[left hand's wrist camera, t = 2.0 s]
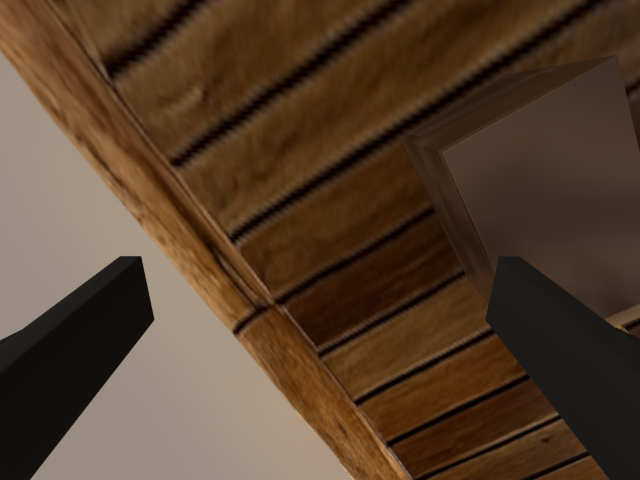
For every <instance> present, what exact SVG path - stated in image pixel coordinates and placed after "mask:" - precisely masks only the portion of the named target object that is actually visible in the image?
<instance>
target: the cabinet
mask: <svg viewBox="0 0 640 480" xmlns="http://www.w3.org/2000/svg"><path fill="white" fill-rule="evenodd" d="M400 140H401V142H402V144H403V146H404V148H405V150H406V152H407V154H408V156H409V158H410V160H411V163H412V165H413V167H414V169H415V171H416V173H417V175H418V177H419V179H420V181H421V183H422V185H423V187H424V190H425V192H426V194H427V196H428V198H429V200H430V202H431V204H432V206H433V208H434V210H435V212H436V214H437V217H438V219H439V221H440V223H441V225H442V227H443V229H444V231H445V233H446V235H447V237H448V239H449V241H450V244H451V246H452V248H453V250H454V252H455V254H456V256H457V258H458V260H459V262H460V264H461V266H462V268H463V270H464V273H465V275H466V277H467V279H468V280H469V281H470V282H471V283H472V284H473V286H474V287H475V288H476V289H477V290H478V291H479V292H480V294H481V295H482V296H483V297H484V298H485V299H486V300H487V302H488V303H489V301H490V296H491V292H492V287H493V282H494V277H495V272H496V268H497V263H498V258H499V256H520V257H521V258H523V259H524V260H525V261H527V262H528V263H529V264H531V265H532V266H533V267H535V268H536V269H537V270H539V271H540V272H541V273H543V274H544V275H546V276H547V277H548V278H550V279H551V280H552V281H554V282H555V283H556V284H558V285H559V286H560V287H562V288H563V289H564V290H566V291H567V292H568V293H570V294H571V295H572V296H574V297H575V298H576V299H578V300H579V301H580V302H582V303H583V304H584V305H586V306H587V307H588V308H590V309H591V310H592V311H594V312H595V313H596V314H598V315H599V316H600V317H602V318H603V319H605V318H607V317H609V316H612V315H614V314H616V313H619V312H621V311H623V310H626V309H628V308H630V307H633V306H635V305H637V304H640V150H639V146H638V142H637V138H636V133H635V129H634V125H633V121H632V117H631V112H630V108H629V104H628V100H627V96H626V92H625V87H624V83H623V79H622V75H621V71H620V66H619V62H618V58H617V55H614V56H608V57H603V58H598V59H592V60H587V61H581V62H575V63H570V64H564V65H559V66H553V67H548V68H542V69H536V70H531V71H525V72H520V73H514V74H508V75H505V76H504V77H502V78H500V79H499V80H497V81H495V82H493V83H492V84H490V85H488V86H487V87H485V88H483V89H481V90H480V91H478V92H476V93H475V94H473V95H471V96H469V97H468V98H466V99H464V100H463V101H461V102H459V103H457V104H456V105H454V106H452V107H451V108H449V109H447V110H445V111H444V112H442V113H440V114H439V115H437V116H435V117H433V118H432V119H430V120H428V121H427V122H425V123H423V124H421V125H420V126H418V127H416V128H415V129H413V130H411V131H409V132H408V133H406V134H404V135H403V136H401V137H400Z"/></svg>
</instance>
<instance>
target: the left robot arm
mask: <svg viewBox="0 0 640 480" xmlns="http://www.w3.org/2000/svg"><path fill="white" fill-rule="evenodd" d="M153 321H154V315H153V311H152V306H151V301H150V296H149V292H148V287H147V282H146V278H145V272H144V268H143V263H142V258H141V256H120V257H119V258H117V259H116V260H115V261H113V262H112V263H111V264H109V265H108V266H107V267H105V268H104V269H103V270H101V271H100V272H99V273H97V274H96V275H95V276H93V277H92V278H90V279H89V280H88V281H86V282H85V283H84V284H82V285H81V286H80V287H78V288H77V289H76V290H74V291H73V292H72V293H70V294H69V295H68V296H66V297H65V298H64V299H62V300H61V301H60V302H58V303H57V304H56V305H54V306H53V307H52V308H50V309H49V310H48V311H46V312H45V313H44V314H42V315H41V316H40V317H38V318H37V319H36V320H34V321H33V322H32V323H30V324H29V325H28V326H26V327H25V328H24V329H22V330H20V331H18V332H16V333H14V334H12V335H10V336H8V337H6V338H4V339H2V340H0V480H30V479H31V478H32V476H33V475H34V474H35V473H36V471H37V470H38V469H39V467H40V466H41V465H42V464H43V462H44V461H45V460H46V458H47V457H48V456H49V455H50V453H51V452H52V451H53V450H54V448H55V447H56V446H57V444H58V443H59V442H60V440H61V439H62V438H63V437H64V435H65V434H66V433H67V431H68V430H69V429H70V428H71V426H72V425H73V424H74V423H75V421H76V420H77V419H78V417H79V416H80V415H81V414H82V412H83V411H84V410H85V408H86V407H87V406H88V405H89V403H90V402H91V401H92V399H93V398H94V397H95V396H96V394H97V393H98V392H99V390H100V389H101V388H102V387H103V385H104V384H105V383H106V381H107V380H108V379H109V378H110V376H111V375H112V374H113V372H114V371H115V370H116V368H117V367H118V366H119V365H120V363H121V362H122V361H123V360H124V358H125V357H126V356H127V354H128V353H129V352H130V351H131V349H132V348H133V347H134V345H135V344H136V343H137V342H138V340H139V339H140V338H141V336H142V335H143V334H144V333H145V331H146V330H147V329H148V327H149V326H150V325H151V324H152V322H153ZM486 321H487V322H488V324H489V325H490V326H491V327H492V329H493V330H494V331H495V333H496V334H497V335H498V336H499V338H500V339H501V340H502V342H503V343H504V344H505V345H506V347H507V348H508V349H509V351H510V352H511V353H512V354H513V356H514V357H515V358H516V360H517V361H518V362H519V363H520V365H521V366H522V367H523V369H524V370H525V371H526V372H527V374H528V375H529V376H530V378H531V379H532V380H533V381H534V383H535V384H536V385H537V387H538V388H539V389H540V390H541V392H542V393H543V394H544V396H545V397H546V398H547V399H548V401H549V402H550V403H551V405H552V406H553V407H554V408H555V410H556V411H557V412H558V414H559V415H560V416H561V417H562V419H563V420H564V421H565V423H566V424H567V425H568V426H569V428H570V429H571V430H572V432H573V433H574V434H575V435H576V437H577V438H578V439H579V441H580V442H581V443H582V444H583V446H584V447H585V448H586V450H587V451H588V452H589V453H590V455H591V456H592V457H593V459H594V460H595V461H596V462H597V464H598V465H599V466H600V468H601V469H602V470H603V471H604V473H605V474H606V475H607V476H608V478H609V479H610V480H640V339H639V338H637V337H635V336H633V335H631V334H629V333H627V332H625V331H623V330H621V329H619V328H615V327H614V326H612V325H611V324H610V323H608V322H607V321H606V320H604V319H603V318H602V317H600V316H599V315H598V314H596V313H595V312H594V311H592V310H591V309H590V308H588V307H587V306H586V305H584V304H583V303H582V302H580V301H579V300H578V299H576V298H575V297H574V296H572V295H571V294H570V293H568V292H567V291H566V290H564V289H563V288H562V287H560V286H559V285H558V284H556V283H555V282H554V281H552V280H551V279H550V278H548V277H547V276H546V275H544V274H543V273H541V272H540V271H539V270H537V269H536V268H535V267H533V266H532V265H531V264H529V263H528V262H527V261H525V260H524V259H523V258H521V257H520V256H499V258H498V263H497V268H496V272H495V277H494V282H493V287H492V292H491V296H490V301H489V306H488V311H487V315H486Z"/></svg>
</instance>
